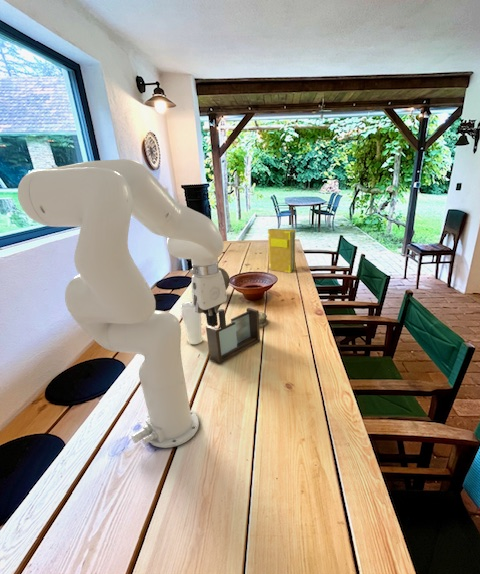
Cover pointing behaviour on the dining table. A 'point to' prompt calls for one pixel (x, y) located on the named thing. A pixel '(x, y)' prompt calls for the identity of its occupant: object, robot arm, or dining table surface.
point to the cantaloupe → (225, 277)
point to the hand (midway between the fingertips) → (212, 325)
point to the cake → (262, 319)
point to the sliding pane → (226, 334)
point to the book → (281, 250)
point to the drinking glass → (192, 323)
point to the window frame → (244, 332)
